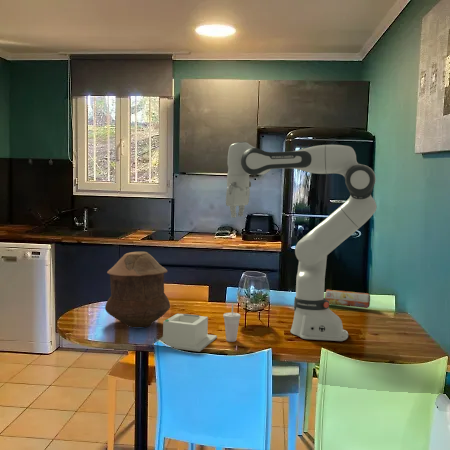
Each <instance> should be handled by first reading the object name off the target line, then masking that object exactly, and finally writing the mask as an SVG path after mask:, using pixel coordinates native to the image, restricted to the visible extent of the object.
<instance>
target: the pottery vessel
mask: <svg viewBox="0 0 450 450" xmlns="http://www.w3.org/2000/svg"><path fill="white" fill-rule="evenodd" d="M106 273H107V274H108V275H109V281H110V296H109V298H108V299H107V300H106V303H105V306H104V309H105V311H106V313H107V314H109V315H110V316H111V317H113V318H115V319H116V320H118V321H119V322H121V323H123V324H125V325H126V326H127V325H128V326H127V327H129V326H130V327H129V328H133V327H144V328H149V327H151V326H152V325H153V323H155V322H156V321H157V320H159V319H160V318H162V317H163V316H164V315H165V314H166V313H167V312H168V311H169V310H170V309H171V303H170V300H169V298H168V296H167V295H166V293H165V274H166V273H168V269H166V267H164V266H162V265H161V264H160V263H159V262H158V261H157V260H156V259H155V257H153V256H152V255H151V254H150V253H149V252H147V251H131V252H127V253H125V254H123V256H121V257H120V258H119V260H118V261H116V263H114V265H113V266H112V267H111V268H110V269H108V270H107V272H106ZM148 326H149V327H148Z"/></svg>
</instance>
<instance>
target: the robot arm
mask: <svg viewBox="0 0 450 450" xmlns="http://www.w3.org/2000/svg"><path fill="white" fill-rule="evenodd" d="M227 151H228V153H227V170H228V171H227V173H226V174H227V175H226V179H227V180H226V187H227V188H226V192H225V193H226V194H225V205H226V206H227V207H229V211H230V217H231V218H237V215H238V217H244V212H245V206H248V205H249V202H250V192H251V191H250V190H251V189H250V188H251V187H252V182H251V181H250V175H254V176H255V175H266V174H267V173H270V171H271V170H276V169H277V170H278V169H279V170H281V169H282V170H283V169H294V170H299V171H303V172H306V173H310V174H316V175H317V174H318V175H329V174H331V175H332V174H338V175H341V176H343V177H344V180H345V181H344V182H345V185H346V189H347V190H348V192H349V195H350V196H349V198H348V199H347V200H346V201H344V202H343V203H342V204H341V205H340V206H338V208H337V209H335V210H334V211H333V212H331V213H330V214H329V216H327V217H326V218H325V219H324V220H322V221H320V223H319V224H317V226H315V227H314V228H313V229H312V230H310V231H309V232H308V233H307V234H305V235H304V236H303V237H302V238H301V239H300V240H299V241H298V242H297V243H296V245H295V247H294V248H295V249H294V254H295V257H296V259H297V260H298V265H297V273H296V279H295V280H296V283H295V284H296V285H295V296H294V300H293V309H294V313H293V314H294V315H293V319H292V320H293V321H292V325H291V329H290V330H289V331H290V333H291V334H293V335H295V336H298V337H300V338H301V339H304V340H316V341H335V342H343V341H346V340H347V339H348V338H349V333H348V331H347V330H346V329H344V327H343V321H342V319H341V318H340V317H339V315H337V314H336V313H335V312H333V310H331V309H330V308H329V307H330V304H329V300H326V299H325V283H326V282H325V278H326V271H327V270H326V269H327V259H328V255H329V254H330V253H332V252H333V251H334V250H335V249H337V247H338V246H340V245H341V244H342V243H343V242H344V241H345V240H347V239H348V238H349V237H351V236H352V235H353V234H354V233H355V232H356V231H358V230H359V229H360V228H362V226H363V225H365V224H366V223H367V222H368V221H369V220H370V218H371V217H373V215H374V214H375V212H376V211H377V209H378V208H377V203H376V201H375V199H374V197H373V196H372V192H373V189H374V187H375V184H376V181H377V180H376V174H375V172H374V169H372V167H369V166H368V165H365V164H362V163H360V162H358V161H357V154H356V151H355V150H354V148H353V147H352V146H350V145H342V144H322V145H321V144H320V145H313V146H310V147H306V148H301V149H297V150H293V151H292V150H291V151H264V150H262V149H261V148H257V147H255V146H253V145H251V144H250V143H249V142H246V141H238V142H234V143H232V144H230V145H229V147H228V150H227ZM237 207H238V212H237V211H236V210H237Z"/></svg>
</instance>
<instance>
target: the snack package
mask: <svg viewBox="0 0 450 450" xmlns="http://www.w3.org/2000/svg"><path fill="white" fill-rule="evenodd" d="M324 298H325V299H326V300H329V305H332V306H340V307H341V306H345V307H354V308H364V309H368V308H370V304H371V295H370V293H367V292H366V293H365V292H358V291H357V292H355V291H347V290H346V291H345V290H334V289H333V290H332V289H329V288H328V289H326V290H325V292H324Z"/></svg>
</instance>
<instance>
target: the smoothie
mask: <svg viewBox="0 0 450 450" xmlns="http://www.w3.org/2000/svg"><path fill="white" fill-rule="evenodd" d="M222 316H223V319H224V328H225V330H224V331H225V339H226V342H229V343H230V342H236V341H237V338H238V332H239V331H238V330H239V325H240V319H241V314H240V313H238V312H234V303H233V302H232V303H231V312H225V313H223V315H222Z"/></svg>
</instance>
